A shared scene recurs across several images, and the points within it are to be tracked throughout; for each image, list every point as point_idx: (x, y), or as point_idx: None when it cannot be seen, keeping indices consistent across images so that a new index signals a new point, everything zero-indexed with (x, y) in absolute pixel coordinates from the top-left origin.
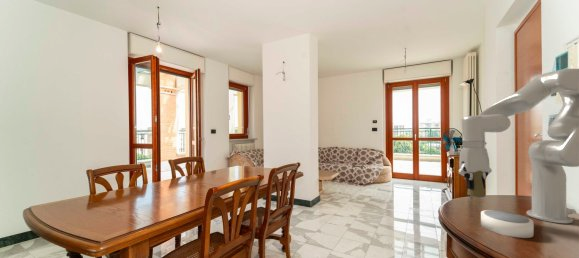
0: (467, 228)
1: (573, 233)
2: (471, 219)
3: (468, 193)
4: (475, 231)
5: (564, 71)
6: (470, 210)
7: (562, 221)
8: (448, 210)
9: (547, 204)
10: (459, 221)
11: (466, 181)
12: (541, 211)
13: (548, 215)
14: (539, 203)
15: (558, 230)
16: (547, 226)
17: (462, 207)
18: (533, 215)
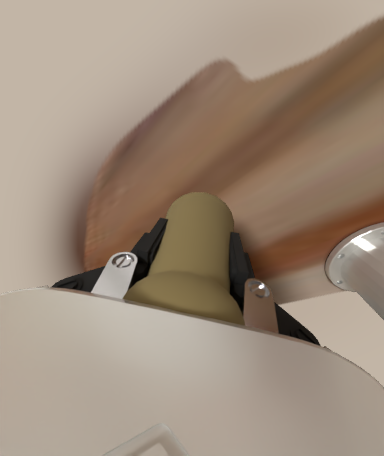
0: (106, 248)
1: (280, 304)
2: (158, 215)
3: (166, 215)
4: None
5: None
6: (232, 151)
7: (339, 287)
8: (150, 130)
9: (371, 302)
10: (116, 218)
11: (133, 249)
12: (352, 273)
13: (345, 278)
14: (375, 288)
15: (274, 293)
16: (282, 281)
17: (240, 108)
18: (335, 253)
